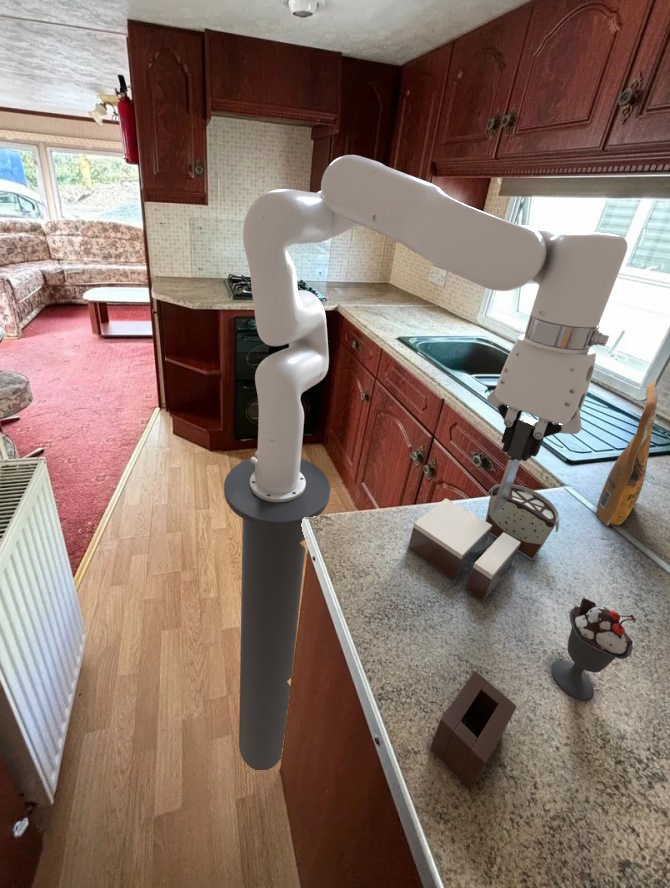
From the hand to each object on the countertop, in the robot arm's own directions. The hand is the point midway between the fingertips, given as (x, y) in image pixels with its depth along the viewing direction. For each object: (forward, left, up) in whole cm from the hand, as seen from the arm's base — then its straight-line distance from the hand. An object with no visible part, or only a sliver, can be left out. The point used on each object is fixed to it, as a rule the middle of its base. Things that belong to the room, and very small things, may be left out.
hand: (517, 452), depth 60 cm
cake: (-6, +1, -25) cm, 25 cm away
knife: (0, 0, -11) cm, 11 cm away
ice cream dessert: (+1, +14, -25) cm, 29 cm away
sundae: (+17, -7, -25) cm, 31 cm away
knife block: (+11, -25, -25) cm, 37 cm away
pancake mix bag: (+11, +41, -25) cm, 50 cm away
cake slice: (+2, +1, -25) cm, 25 cm away
